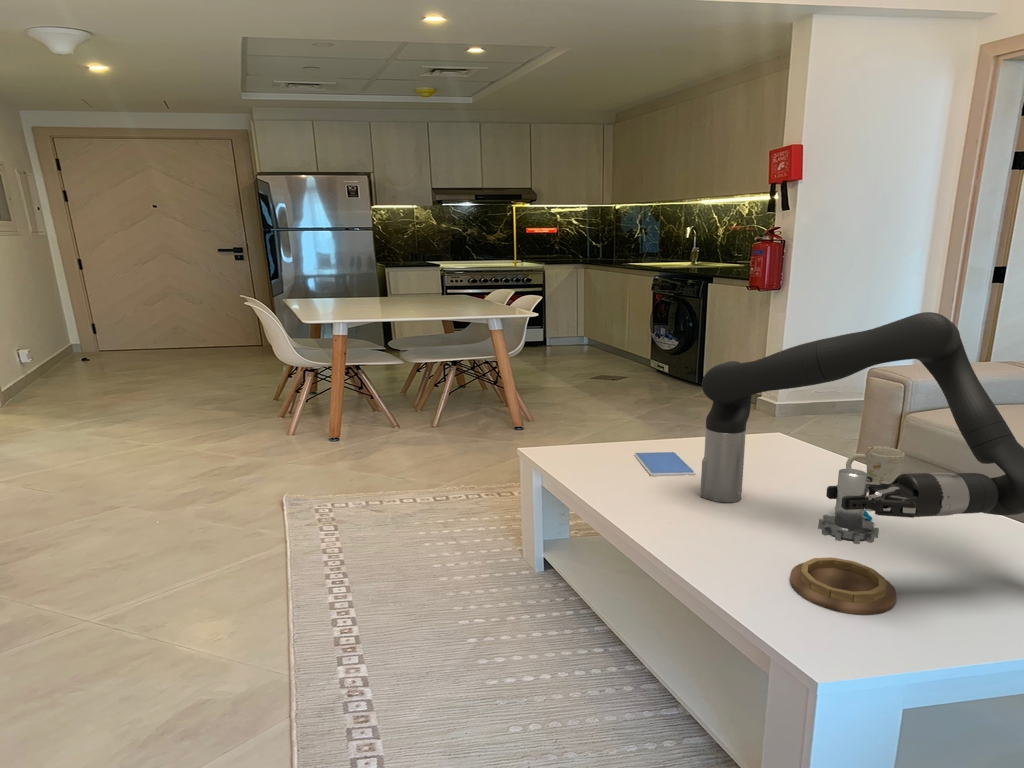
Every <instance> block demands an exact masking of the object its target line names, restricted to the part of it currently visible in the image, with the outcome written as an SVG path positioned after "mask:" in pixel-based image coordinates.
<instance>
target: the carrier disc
mask: <svg viewBox="0 0 1024 768" xmlns="http://www.w3.org/2000/svg"><path fill="white" fill-rule="evenodd" d="M789 582H790V583H789V584H790V586H791V587H792V589H793V590H794V591H795V592H796V593H797V594H798V595H799V596H801V597H802V598H803V599H805V600H807V601H808V602H811V603H812V604H815V605H817V606H819V607H822V608H825V609H828V610H831V611H834V612H840V613H844V614H852V615H862V616H866V615H868V616H869V615H879V614H882V613H883V614H884V613H886V612H888V611H890V610H892V609H893V608H894V607H895V605H896V604H897V603H896V602H897V591H896V588H895V586H894V585H893V584H892V583H891V582H890V581H889V580H887V579H886V578H885V577H884V576H883V575H882V574H880V573H879V572H877V570H876V569H874V568H872V567H869V566H866V565H864V564H862V563H859V562H857V561H854V560H849V559H844V558H837V557H814V558H812V559H809V560H806V561H804V562H802V563H798V564H797V565H795V566H794V567H793V568H792V569H791V571H790V577H789Z"/></svg>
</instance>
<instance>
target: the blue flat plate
mask: <svg viewBox="0 0 1024 768" xmlns="http://www.w3.org/2000/svg"><path fill="white" fill-rule="evenodd" d="M633 456H634V458H636V459H637V461H638V462H639V463H640V464H641V465H642V467H643V468H644V470H645V471H646V472H647V473H648V474H649V476H651V477H681V476H683V477H684V476H685V475H689V476H696V472H695V471H694V470H693V469H692V467H690V466H689V465H688V464H687V463H686V462H685V461H684V460H683V458H681V457H680V456H679V455H678V454H677V453H676V452H674V451H673V452H672V451H669V452H668V451H667V452H663V451H662V452H661V451H660V452H657V451H656V452H635V453H634V454H633Z"/></svg>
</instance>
